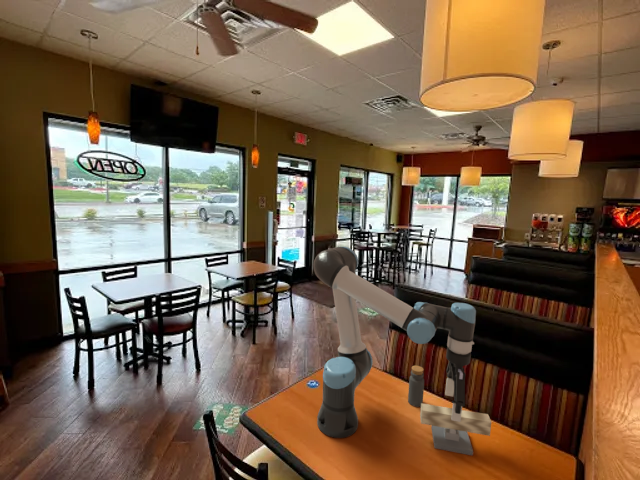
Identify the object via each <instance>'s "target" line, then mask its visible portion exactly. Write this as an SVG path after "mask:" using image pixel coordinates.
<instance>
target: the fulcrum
mask: <svg viewBox="0 0 640 480" xmlns="http://www.w3.org/2000/svg"><path fill="white" fill-rule="evenodd" d="M431 435H432V442H433V447H434V449H435V450H436V449H438V450H443V451H447V452H453V453H457V454H462V455H467V456H473V455H474V450H473V446H472V444H471V440H470V436H469V432H465V431H460V430H454V429H449V428H443V427H438V426H432V425H431Z"/></svg>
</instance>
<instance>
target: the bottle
mask: <svg viewBox="0 0 640 480" xmlns="http://www.w3.org/2000/svg"><path fill="white" fill-rule="evenodd" d="M424 370H425V369H424V367H422V366H420V365H413V366H411V371H410V376H409V379H408V381H409V382H408V394H407V396H408V397H407V400H408V401H407V402H408V404H409V405H411V406H412V407H415V408H416V407H417V408H418V407H421V403H423V402H424V391H425V390H424V389H425V379H424V377H425V374H424ZM423 404H424V403H423Z"/></svg>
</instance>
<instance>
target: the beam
mask: <svg viewBox="0 0 640 480" xmlns="http://www.w3.org/2000/svg"><path fill="white" fill-rule="evenodd" d="M451 416H452V407H446V406H439V405H433V404H428V403H421V406H420V414H419V417H420V418H419V419H420V424H421V425H428V426H431V427H432V426H438V427H443V428H449V429H454V430H460V431H465V432H467V433H472V434H477V435H478V434H479V435H483V436H489V437H490V436H491V430H492V420H491V418H490V416H489V414H488V413H482V412H477V411H470V410H465V409H462V413H461V422H458V421H453V420H451Z"/></svg>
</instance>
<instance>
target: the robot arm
mask: <svg viewBox="0 0 640 480" xmlns="http://www.w3.org/2000/svg"><path fill="white" fill-rule="evenodd" d="M358 266H359V257H358V255H357V254H356V252H355V251H354V250H353V249H352V248H350V247H347V246H336V247H332V248H330V249H325V250H322V251H320V252H319V253H318V254H317V255H316V256H315V259H314V261H313V272H314V274H315V276H316V277H317V278H318V279H319V280H320V282H322V283H323V284H324V285H326V286H328V287H329V288H330V289H332V295H333V302H334V308H335V314H336V315H335V316H336V324H337V328H338V336H339V342H340V344H339V346H338V347H337V355H338V356H336V357H332V358H330V359H329V360H327V362H325V364H324V366H323V372H322V402H321V406H320V408H319V409H318V412H317V413H318V414H317V418H316V419H317V421H316V424H317V427H318V429H319V431H321V432H322V433H323V434H324V435H325V436H328V437H331V438H336V439H342V438H343V439H344V438H348V437H350V436H352V435H353V434H355V433H356V431H357V430H358V427H359V417H358V414H357V411H356V406H355V392H356V389H357V388H358V387H359V385H360V384H361V383H362V382H363V380H364V379H365V378H366V377H367V376H368V375H369V373H370V372H371V370H372V368H373V356H372V353H371V352H370V351H369V350H368V348H367V345H366V343H364V342H363V341H362V333H361V326H360V322H359V321H360V320H359V315H358V308H357V302H359V303H361V304H362V305H364V306H365V307H367V308H369V309H371V310H372V312H373V311H374V313H377V314H379V315H380V316H382V317H383V318H384V319H386V320H388V321H389V322H392V323H393V324H394V325H396V326H398V327H400V328H401V329H403V330H404V331H406V333H407V337H408V338H409V340H411V341H412V343H415V344H418V345H424V344H427V343H429V342H430V341H431V340H432V338H433V337H435V334H436V332H437V329H441V330H444V331H448V336H447V343H446V346H447V347H446V353H445V358H446V360H447V361H448V364H447V367H446V370H445V372H446V377H447V378H446V381H445V382H446V384H445V392H444V395H445V396H448V397H453V398H454V400H451V403H452V407H451V408H452V416H451V420H453V421H458V422H461V413H462V410H463V407H465V406H466V404H465V403H466V402H465V400H466V399H465V398H466V397H465V396H466V394H465V393H466V391H465V390H466V389H465V388H466V376H467V375H466V372H465V368H464V366H468V365H470V363H471V358H472V357H471V356H472V353H471V352H472V349H473V348H472V347H473V345H475V342H474V334H475V333H474V332H475V327H476V316H477V310H476V307H474V306H473V305H471V304H469V303H465V302H454V303H452V304H451V307H448V306H442V305H439V304H438V305H436V304H432V303H428V302H422V301H417V302H416V303H414V306H413V307H412V306H411V305H410V304H408V303H406V302H404V301H402V300H400V299H399V298H397V297H396V296H394V295H393V294H390V293H389V292H387V291H385V290H384V289H382V288H380V287H378V286H377V285H375V284H373V283H372V282H370V281H368V280H366V279H365V278H363V277H361V276H360V275H358V274H357V272H356V270H357V268H358ZM356 301H357V302H356Z"/></svg>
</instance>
